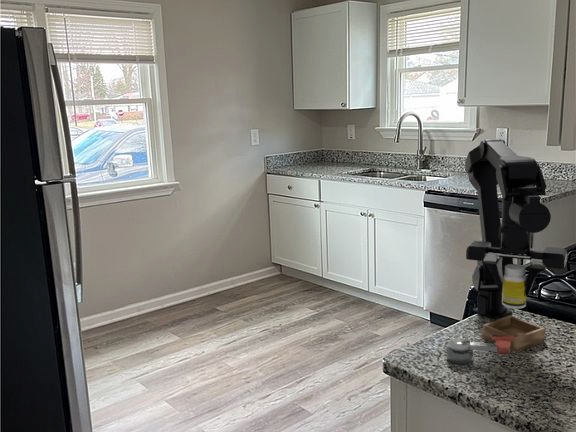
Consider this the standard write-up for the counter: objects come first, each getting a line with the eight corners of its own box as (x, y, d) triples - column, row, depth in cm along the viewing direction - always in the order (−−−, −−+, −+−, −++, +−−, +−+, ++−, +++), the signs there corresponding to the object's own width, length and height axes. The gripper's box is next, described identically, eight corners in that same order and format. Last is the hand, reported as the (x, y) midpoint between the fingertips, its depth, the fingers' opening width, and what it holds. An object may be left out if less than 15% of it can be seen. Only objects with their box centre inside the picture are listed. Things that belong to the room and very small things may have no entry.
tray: (510, 328, 125) (510, 315, 125) (544, 341, 118) (545, 328, 117) (482, 337, 121) (482, 324, 121) (516, 352, 114) (516, 338, 113)
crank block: (459, 351, 116) (459, 342, 115) (478, 360, 111) (478, 351, 111) (441, 357, 113) (441, 348, 113) (459, 367, 109) (460, 357, 109)
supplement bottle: (528, 309, 115) (529, 270, 113) (503, 309, 116) (505, 270, 114) (523, 301, 120) (524, 263, 118) (500, 300, 121) (501, 263, 119)
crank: (449, 352, 110) (449, 337, 110) (449, 343, 114) (449, 329, 114) (514, 357, 107) (515, 341, 107) (512, 348, 111) (513, 332, 110)
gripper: (571, 215, 116) (567, 287, 119) (478, 210, 126) (477, 276, 129) (566, 227, 107) (562, 305, 110) (465, 221, 116) (465, 292, 120)
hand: (514, 293), depth 118 cm, fingers closed on supplement bottle, 5 cm apart
